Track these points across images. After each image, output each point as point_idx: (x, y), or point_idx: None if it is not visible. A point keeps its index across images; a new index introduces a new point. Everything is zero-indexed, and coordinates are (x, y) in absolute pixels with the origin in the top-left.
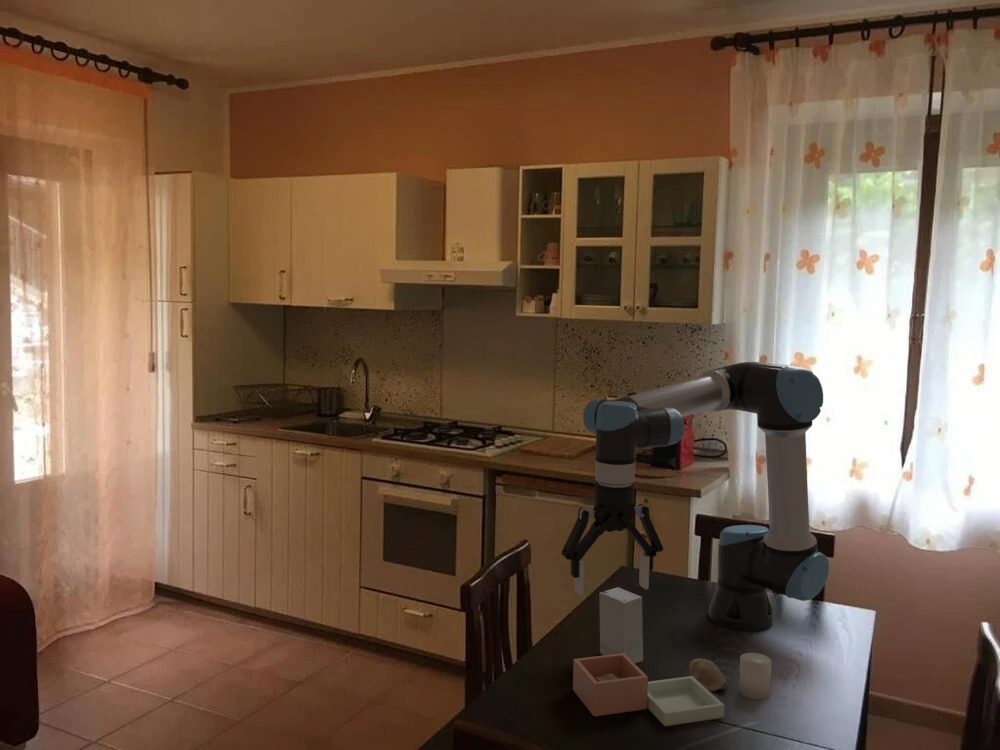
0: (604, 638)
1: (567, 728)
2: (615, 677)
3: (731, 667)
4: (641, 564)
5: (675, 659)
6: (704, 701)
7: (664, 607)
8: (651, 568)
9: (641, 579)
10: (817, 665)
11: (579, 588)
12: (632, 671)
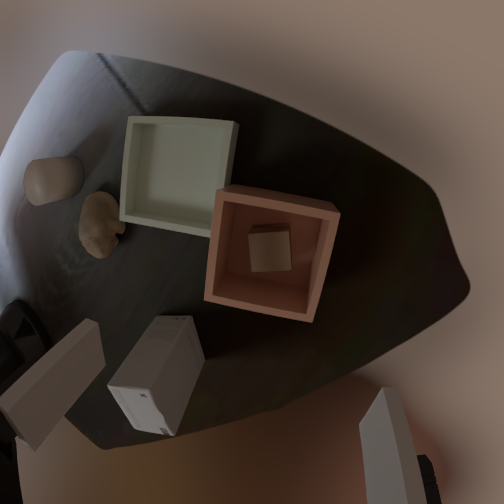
0: (194, 371)
1: (384, 198)
2: (254, 254)
3: (63, 247)
4: (53, 409)
5: (112, 300)
6: (137, 165)
7: (86, 392)
8: (27, 366)
9: (87, 366)
10: (4, 209)
11: (402, 412)
12: (220, 244)
